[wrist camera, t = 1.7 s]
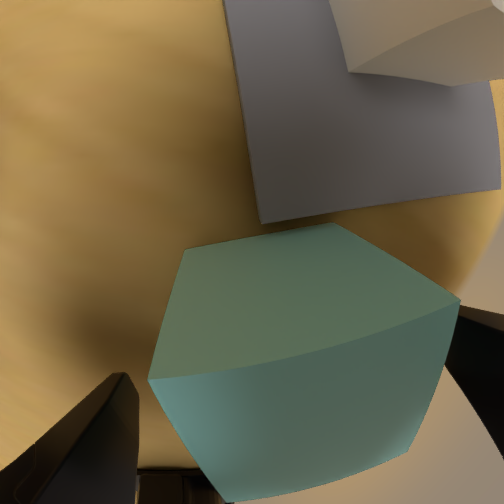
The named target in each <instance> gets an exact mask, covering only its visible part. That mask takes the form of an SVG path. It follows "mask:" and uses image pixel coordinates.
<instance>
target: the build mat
mask: <svg viewBox="0 0 504 504" xmlns="http://www.w3.org/2000/svg"><path fill="white" fill-rule="evenodd" d="M222 1H223V7H224V12H225V18H226V23H227V29H228V34H229V40H230V46H231V51H232V57H233V63H234V69H235V74H236V80H237V86H238V92H239V98H240V104H241V110H242V116H243V122H244V128H245V134H246V140H247V146H248V152H249V158H250V165H251V171H252V177H253V183H254V190H255V196H256V203H257V209H258V216H259V221H260V222H261V223H262V224H266V223H272V222H278V221H283V220H289V219H295V218H301V217H307V216H313V215H319V214H325V213H331V212H337V211H343V210H350V209H356V208H363V207H369V206H376V205H383V204H389V203H396V202H403V201H410V200H418V199H425V198H432V197H440V196H448V195H456V194H464V193H472V192H480V191H489V190H498V189H501V165H500V149H499V138H498V129H497V122H496V115H495V108H494V103H493V97H492V92H491V88H490V83H489V81H482V82H475V83H469V84H463V85H457V86H452V87H450V86H446V85H442V84H437V83H432V82H427V81H421V80H416V79H409V78H403V77H396V76H388V75H378V74H368V73H354V72H348V69H347V64H346V60H345V56H344V52H343V48H342V44H341V40H340V36H339V33H338V29H337V26H336V22H335V19H334V16H333V12H332V9H331V6H330V3H329V0H222Z"/></svg>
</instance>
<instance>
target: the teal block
mask: <svg viewBox="0 0 504 504" xmlns="http://www.w3.org/2000/svg"><path fill="white" fill-rule="evenodd" d="M460 301H461V300H460V299H459V298H457V297H456V296H454V295H453V294H452V293H450V292H449V291H447V290H446V289H444V288H442V287H441V286H439V285H438V284H436V283H435V282H433V281H432V280H430V279H429V278H427V277H426V276H424V275H422V274H421V273H419V272H418V271H416V270H414V269H413V268H411V267H410V266H408V265H406V264H405V263H403V262H402V261H400V260H398V259H397V258H395V257H393V256H392V255H390V254H388V253H387V252H385V251H383V250H382V249H380V248H378V247H376V246H375V245H373V244H371V243H370V242H368V241H366V240H364V239H363V238H361V237H359V236H357V235H356V234H354V233H352V232H350V231H348V230H347V229H345V228H343V227H341V226H339V225H338V224H336V223H334V222H331V223H325V224H320V225H314V226H308V227H303V228H297V229H291V230H286V231H280V232H275V233H269V234H264V235H258V236H253V237H247V238H242V239H237V240H231V241H226V242H221V243H216V244H210V245H205V246H200V247H195V248H190V249H185V251H184V254H183V257H182V260H181V263H180V266H179V269H178V272H177V275H176V279H175V282H174V285H173V288H172V291H171V295H170V298H169V301H168V305H167V308H166V311H165V315H164V318H163V322H162V325H161V329H160V333H159V336H158V340H157V343H156V347H155V351H154V355H153V359H152V363H151V366H150V370H149V374H148V379H147V380H148V382H149V384H150V386H151V388H152V390H153V392H154V394H155V396H156V398H157V399H158V401H159V403H160V405H161V407H162V408H163V410H164V412H165V414H166V415H167V417H168V419H169V421H170V422H171V424H172V426H173V427H174V429H175V431H176V432H177V434H178V435H179V437H180V439H181V440H182V442H183V443H184V445H185V446H186V448H187V449H188V451H189V452H190V454H191V455H192V457H193V458H194V460H195V461H196V463H197V464H198V466H199V467H200V468H201V470H202V471H203V473H204V474H205V475H206V477H207V478H208V479H209V481H210V482H211V483H212V485H213V486H214V487H215V489H216V490H217V491H218V493H219V494H220V495H221V496H222V498H223V499H224V500H225V501H226V502H227V503H229V502H239V501H247V500H254V499H261V498H267V497H273V496H278V495H283V494H288V493H292V492H297V491H301V490H305V489H309V488H312V487H316V486H320V485H323V484H327V483H330V482H333V481H336V480H340V479H343V478H345V477H348V476H351V475H354V474H357V473H359V472H362V471H365V470H367V469H369V468H372V467H374V466H377V465H380V464H382V463H384V462H386V461H389V460H391V459H393V458H395V457H397V456H399V455H401V454H403V453H406V452H407V451H408V449H409V447H410V445H411V444H412V442H413V440H414V437H415V436H416V434H417V432H418V429H419V427H420V425H421V423H422V421H423V419H424V416H425V414H426V412H427V409H428V407H429V404H430V402H431V400H432V397H433V395H434V392H435V389H436V387H437V384H438V381H439V378H440V376H441V373H442V370H443V367H444V364H445V361H446V357H447V354H448V351H449V347H450V344H451V340H452V336H453V332H454V328H455V324H456V320H457V316H458V311H459V307H460Z"/></svg>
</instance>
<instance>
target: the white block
mask: <svg viewBox="0 0 504 504" xmlns="http://www.w3.org/2000/svg"><path fill="white" fill-rule="evenodd" d="M329 3H330V6H331V9H332V12H333V16H334V19H335V22H336V26H337V29H338V33H339V36H340V40H341V44H342V48H343V52H344V56H345V60H346V64H347V69H348V72H354V73H368V74H378V75H388V76H396V77H403V78H409V79H416V80H421V81H427V82H432V83H437V84H442V85H446V86H450V87H452V86H457V85H463V84H469V83H475V82H482V81H489V80H497V79H504V0H329Z"/></svg>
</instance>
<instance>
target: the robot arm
mask: <svg viewBox="0 0 504 504" xmlns="http://www.w3.org/2000/svg"><path fill="white" fill-rule="evenodd" d="M444 365H445V367H446V368H447V370H448V371H449V373H450V374H451V375H452V377H453V378H454V380H455V381H456V383H457V384H458V385H459V387H460V388H461V390H462V391H463V393H464V394H465V396H466V397H467V399H468V401H469V402H470V403H471V405H472V407H473V408H474V410H475V411H476V413H477V415H478V416H479V417H480V419H481V421H482V423H483V424H484V426H485V427H486V429H487V431H488V432H489V434H490V436H491V438H492V439H493V441H494V443H495V444H496V446H497V448H498V450H499V452H500V453H501V455H502V456H503V459H504V315H503V314H499V313H494V312H489V311H484V310H480V309H475V308H471V307H467V306H462V305H460V307H459V311H458V316H457V320H456V324H455V328H454V332H453V336H452V340H451V344H450V347H449V351H448V354H447V357H446V361H445V364H444ZM138 452H139V394H138V392H137V390H136V388H135V386H134V384H133V383H132V381H131V379H130V377H129V375H128V374H127V373H125V372H117V373H112V374H111V375H110V376H109V377H108V378H106V379H105V380H104V381H103V382H102V383H101V384H100V385H99V386H97V387H96V388H95V389H94V390H93V391H92V392H91V393H90V394H89V395H87V396H86V397H85V398H84V399H83V400H82V401H81V402H80V403H78V404H77V405H76V406H75V407H74V408H73V409H72V410H71V411H70V412H68V413H67V414H66V415H65V416H64V417H63V418H62V419H61V420H59V421H58V422H57V423H56V424H55V425H54V426H53V427H52V428H51V429H49V430H48V431H47V432H46V433H45V434H44V435H43V436H42V437H41V438H39V439H38V440H37V441H36V442H35V444H33V445H32V446H30V447H29V448H28V449H27V450H26V451H25V452H24V453H23V454H21V455H20V456H19V457H18V458H17V459H16V460H14V461H13V462H12V463H10V464H9V465H8V466H6V467H5V468H4V469H3V470H1V471H0V504H135V490H136V491H137V492H138V494H137V504H234V502H229V503H227V502H226V501H225V500H224V499H223V498H222V496H221V495H220V494H219V493H218V491H217V490H216V489H215V487H214V486H213V485H212V483H211V482H210V481H209V479H208V478H207V477H206V475H205V474H204V473H203V471H202V470H191V471H139V470H137V463H138Z"/></svg>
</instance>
